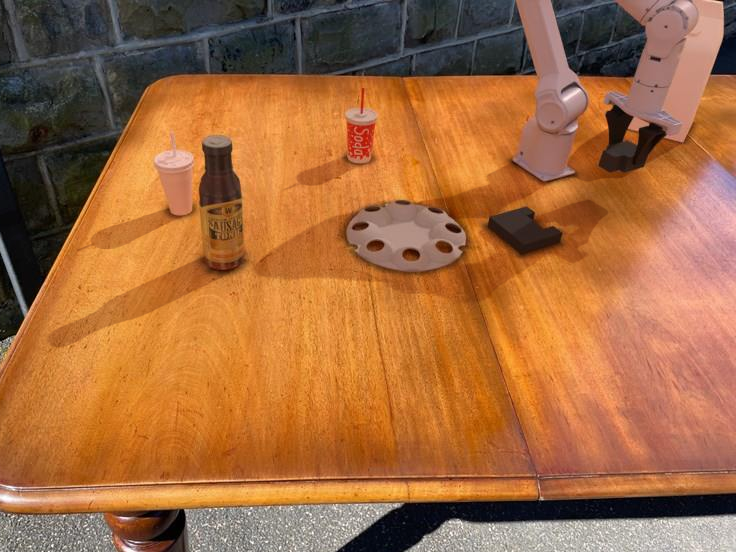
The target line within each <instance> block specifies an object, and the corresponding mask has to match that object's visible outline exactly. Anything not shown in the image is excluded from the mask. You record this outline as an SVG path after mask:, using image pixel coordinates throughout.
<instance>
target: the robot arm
mask: <svg viewBox="0 0 736 552" xmlns="http://www.w3.org/2000/svg"><path fill="white" fill-rule="evenodd" d="M613 1H614V2H616V3H617V4H618V5H619V6H620V7H621V8H622V9H623V10H624V11H625V12H627V13H628V14H629V15H630V16H631V17H633V19H635V20H636V22H638V23H639V24H641V26H643V27H645V29H644V30H645V35H646V38H647V39H646V42H645V45H644V48H643V49H642V52H641V56H640V58H639V61H638V64H637V67H636V70H635V73H634V75H633V79H632V82H631V85H630V88H629V91H628V94H624V93H620V92H618V91H615V90H611V91H606V92H605V95H604V99H603V102H602V103H603V104H605V105H606V106H612V108H611V109H609V110H606V112H605V114H604V117H605V119H606V123H607V129H608V145H611V144H615V143H619V142H623V141H624V139H625V136H626V133H627V131H628V130H629V129H628V127H629V125H630V123H631V121H632V120H633V118H634V117H637V118H639V119H641V120H643V121H645V122H647V123H649V126H645V127H641V128H639V131H638V138H637V144H636V145H637V148H636V151H635V154H634V157H633V162H632V164H633V165H635V166H636V165H639V164H643V162H644V161H645V159H646V158H647V159H648V157H649V155H650V153H651V152H652V151H653V150H654V149H655V147H656V146H657V145H658V144H659V143H660V142H661V141H662V140H663V139H665V138H664V137H665V136H666V135H669V136H672V135H676V134H679V131H680V129H681V126H682V124H683V123H682V122H680V121H678V120H677V119H675V118H674V117H672V116H671V115H670V114H669V113H667V112H666V111H665V110H663V109H662V107H663V104H664V101H665V99H666V96H667V93H668V90H669V88H670V85H671V83H672V80H673V77H674V74H675V72H676V69H677V66H678V64H679V61H680V59H681V53H682V51H683V49H684V45H685V42H686V40H687V38H684V37H685V36H687V35H688V34H689V33H690V32H691V31H692V30H693V29H694V28H695V26H696V25H697V22H698V18H699V13H698V9H697V7H696V6H695V4H694V3H693V1H692V0H613ZM515 3H516V7H517V10H518V13H519V17H520V21H521V24H522V28H523V31H524V35H525V38H526V42H527V45H528V49H529V53H530V56H531V58H532V62H533V66H534V70H535V73H536V76H537V84H536V87H535V90H534V94H533V97H534V100H535V110H534V116H533V117H532V118H530V119H529V120H528V121H526V123H525V125H524V126H523V128H522V131H521V134H520V139H519V144H518V149H517V151H516V157H513V158H512V162H514V163H515V164H517V165H518V166H519V167H521V168H523V169H524V170H525V171H527V172H528V173H530V174H532V175H533V176H534V177H536V178H537V179H538V180H540V181H542V182H548V181H552V180H553V181H554V180H556V179H561V178H563V177H567V176H571V175H574V174H575V173H576V171H575V169H573V168H571V167H570V166H568V162H569V158H570V156H571V153H572V148H573V145H574V143H575V138H576V136H577V135H576V134H577V131H578V128H579V124H578V119H579V117H582V116H583V114H585V112H586V111H587V110H588V107H589V104H590V97H589V93H588V92H587V90H586V88H585V87H584V86H583V85H582V84H581V82H580V79H579V76H578V74H576V73H575V72H574V71H573V70H572V69H570V67H569V64H568V60H567V56H566V52H565V49H564V48H565V47H564V44H563V40H562V38H561V34H560V30H559V26H558V23H557V19H556V15H555V11H554V8H553V4H552V0H515ZM647 156H648V157H647Z"/></svg>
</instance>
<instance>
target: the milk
mask: <svg viewBox="0 0 736 552" xmlns="http://www.w3.org/2000/svg"><path fill="white" fill-rule="evenodd" d="M692 1H693V3H694V4H695V6H696V7H697V9H698V13H699V18H698V22H697V25H696V26H695V28H694V29H693V30H692V31H691V32H690V33H689V34H688V35H687V36H685V37H684V38H687V40H686V42H685V45H684V49H683V51H682V53H681V59H680V61H679V64H678V66H677V69H676V72H675V74H674V77H673V80H672V83H671V85H670V88H669V90H668V93H667V96H666V99H665V101H664V104H663V107H662V109H663V110H665V111H666V112H667V113H669V114H670V115H671V116H672V117H674V118H675V119H677V120H678V121H680V122H682V123H683V124H682V126H681V129H680V131H679V134H676V135H672V136H669V135H666V136H665V137H664V138H663V139H666V140H671V141H675V142H678V143H684V142H685V139H686V138H687V135H688V133H689V131H690V129H691V127H692V125H693V122H694V120H695V117H696V114H697V112H698V108H699V105H700V103H701V100H702V97H703V95H704V92H705V89H706V87H707V84H708V81H709V78H710V76H711V73H712V70H713V67H714V64H715V61H716V60H717V56H718V53H719V51H720V47H721V45H722V42H723V38H724V32H725V30H724V29H725V28H724V27H725V23H724V22H725V16H724V12H725V11H724V2H723V1H719V0H692ZM645 126H649V123H647V122H645V121H643V120H641V119H639V118H637V117H634V118H633V120H632V121H631V123H630V125H629V127H628V129H627V130H631V131H635V132H639V128H641V127H645Z"/></svg>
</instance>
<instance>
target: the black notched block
mask: <svg viewBox="0 0 736 552" xmlns="http://www.w3.org/2000/svg"><path fill="white" fill-rule="evenodd" d="M636 148H637V144H636V143H634V142H632V141H630V140H628V139H627V140H623V142H619V143H615V144H611V145H609V144H607V146H606V148H605V149H604V150H602V152H601V155H600V159H599V161H598V164H597V166H598V167H599V168H601V169H603V170H605V171H606V172H608V173H610V174H611V173H614V172H617V171H619V172H621V173H623V174H626V173H629V172H632V171H635V170H638V169H643V168H645V165H646V162H647V160H648V157H649V155H648V156H647V158H646V159H645V161H644V162H643V164H639V165H636V166H635V165H633V164H632V162H633V157H634V154H635V151H636Z"/></svg>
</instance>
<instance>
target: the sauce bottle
mask: <svg viewBox="0 0 736 552" xmlns="http://www.w3.org/2000/svg"><path fill="white" fill-rule="evenodd" d="M233 149H234V148H233V141H232V139H231V138H230V137H229V136H226V135H223V134H211V135H207V136H205V137H204V138H203V139H202V141H201V151H202V152H203V155H204V172H203V174H202V176H201V177H200V181H199V185H198V195H199V200H198V206H199V219H200V230H201V231H200V232H201V244H202V253H203V256H204V262H205V264H206V265H207V267H208V268H211V269H213V270H218V271H228V270H233V269H235V268H237V267H239V266H240V265H241V264H242V263H243V260H244V254H245V234H244V233H245V231H244V230H245V229H244V228H245V227H244V204H243V194H242V186H241V180H240V178H239V176H238V175H237V173H235V170H234V165H233V159H232V157H233V156H232V153H233Z"/></svg>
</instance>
